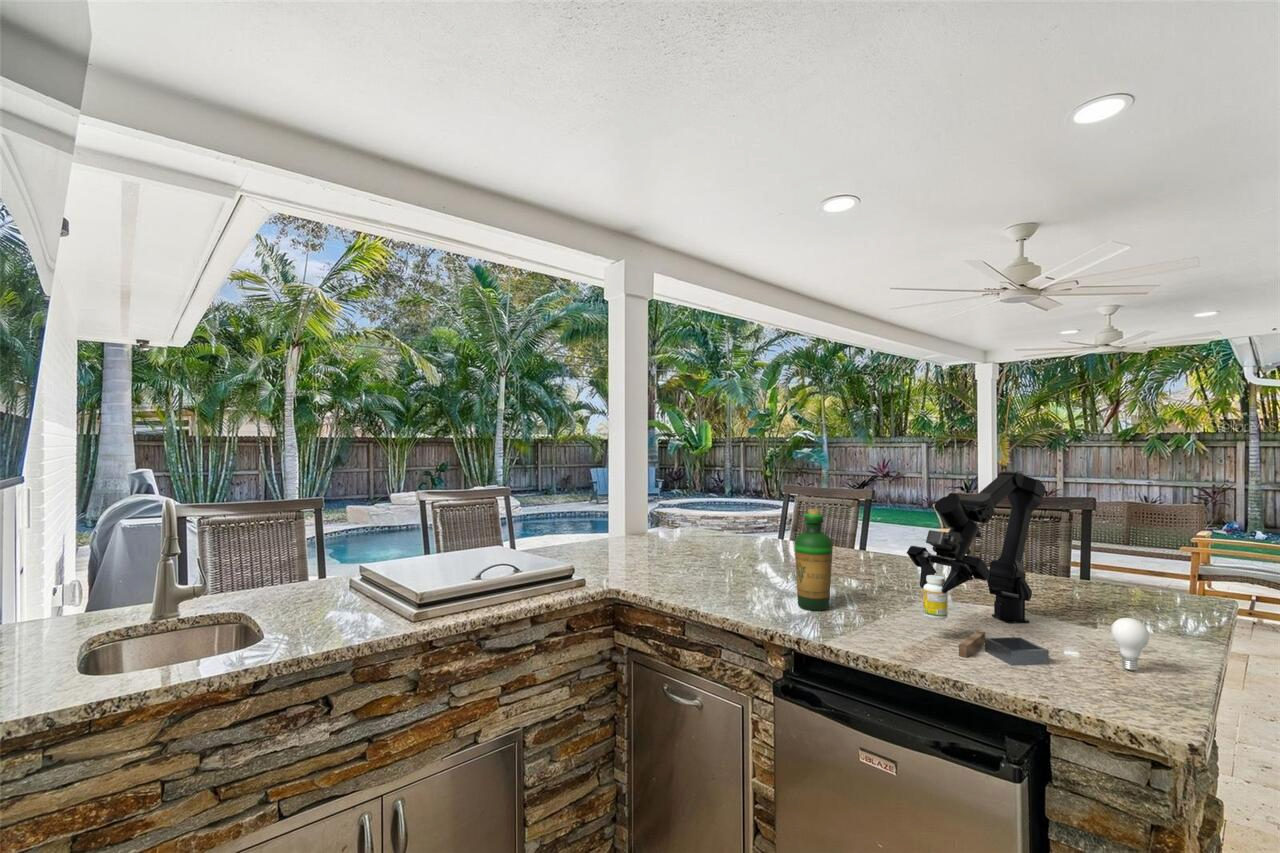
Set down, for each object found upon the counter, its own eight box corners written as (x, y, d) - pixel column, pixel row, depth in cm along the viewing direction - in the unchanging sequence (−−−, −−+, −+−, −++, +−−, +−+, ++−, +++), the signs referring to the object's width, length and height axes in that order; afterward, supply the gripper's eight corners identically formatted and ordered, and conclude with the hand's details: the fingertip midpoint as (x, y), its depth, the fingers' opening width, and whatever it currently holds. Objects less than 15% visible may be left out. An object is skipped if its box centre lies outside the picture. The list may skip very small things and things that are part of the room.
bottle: (791, 610, 172) (792, 510, 172) (796, 600, 182) (797, 506, 182) (831, 614, 168) (831, 512, 168) (834, 604, 178) (834, 508, 178)
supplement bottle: (944, 621, 144) (944, 580, 144) (920, 616, 148) (920, 576, 148) (950, 616, 148) (950, 576, 148) (926, 611, 152) (927, 573, 152)
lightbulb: (1103, 665, 132) (1103, 614, 132) (1130, 664, 132) (1130, 613, 132) (1129, 676, 125) (1129, 623, 125) (1157, 676, 126) (1157, 622, 126)
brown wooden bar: (977, 641, 146) (977, 630, 146) (985, 643, 145) (985, 632, 145) (958, 655, 136) (958, 644, 136) (966, 657, 135) (966, 646, 135)
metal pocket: (1020, 650, 140) (1020, 637, 140) (1048, 664, 132) (1048, 650, 132) (985, 651, 140) (984, 638, 140) (1011, 665, 131) (1011, 651, 131)
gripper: (911, 514, 158) (883, 561, 152) (982, 523, 142) (954, 576, 136) (929, 541, 162) (903, 588, 156) (1001, 553, 146) (975, 606, 140)
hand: (931, 589), depth 147 cm, fingers closed on supplement bottle, 5 cm apart
